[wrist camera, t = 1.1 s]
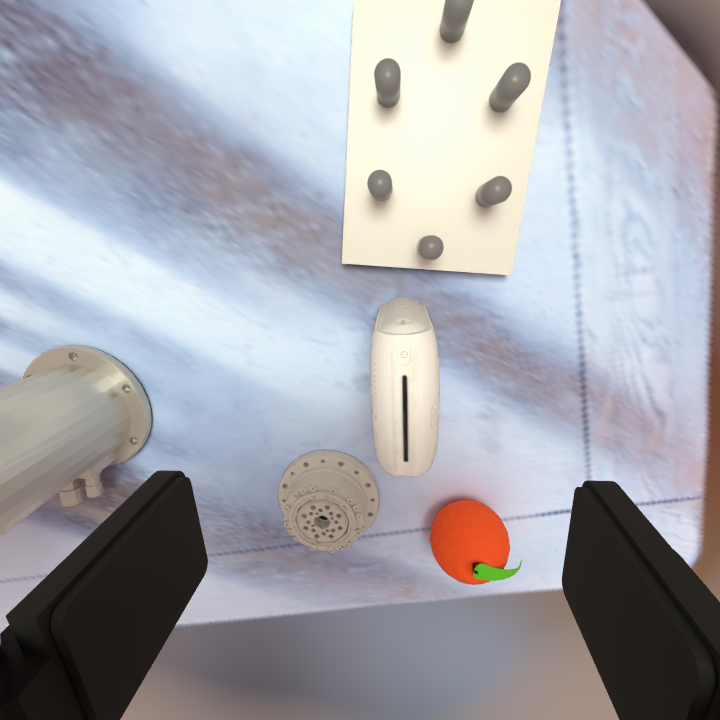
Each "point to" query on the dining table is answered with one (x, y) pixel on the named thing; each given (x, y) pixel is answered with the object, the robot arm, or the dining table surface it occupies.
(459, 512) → the clementine
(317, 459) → the mechanical component
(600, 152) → the dining table surface
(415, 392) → the photo printer
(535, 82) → the pin tray
